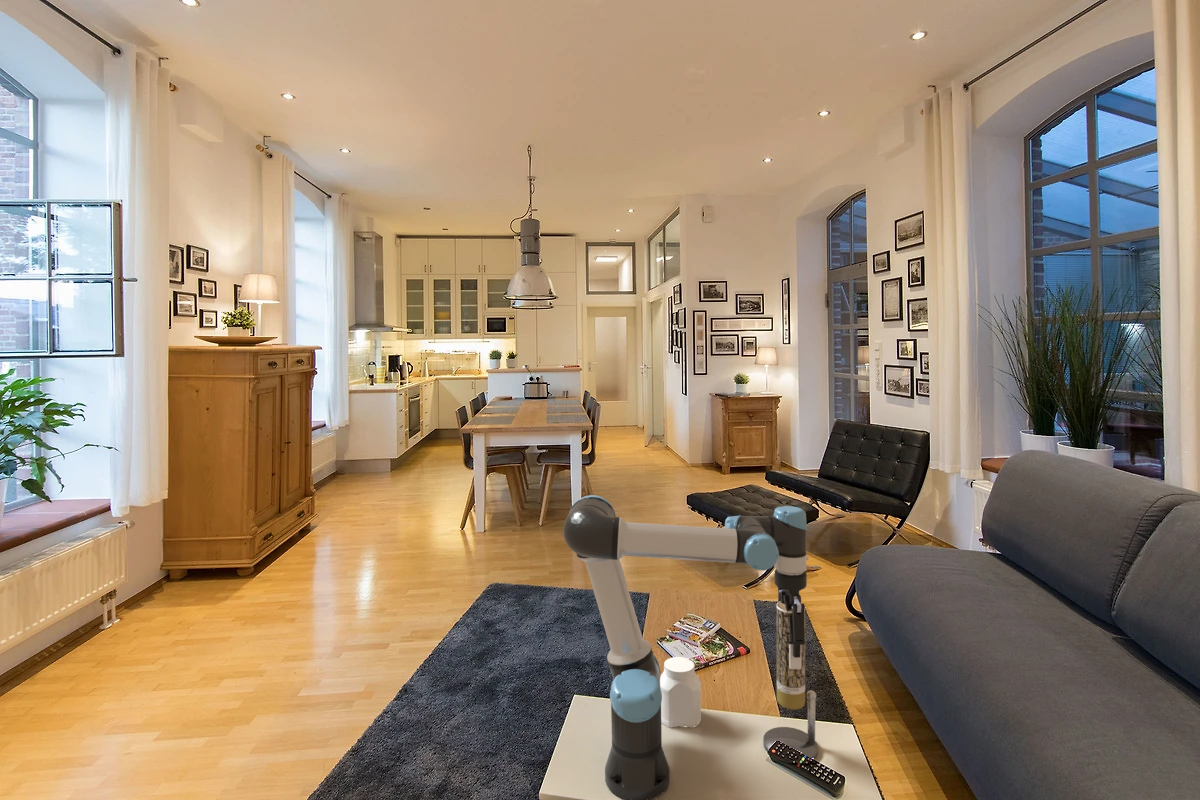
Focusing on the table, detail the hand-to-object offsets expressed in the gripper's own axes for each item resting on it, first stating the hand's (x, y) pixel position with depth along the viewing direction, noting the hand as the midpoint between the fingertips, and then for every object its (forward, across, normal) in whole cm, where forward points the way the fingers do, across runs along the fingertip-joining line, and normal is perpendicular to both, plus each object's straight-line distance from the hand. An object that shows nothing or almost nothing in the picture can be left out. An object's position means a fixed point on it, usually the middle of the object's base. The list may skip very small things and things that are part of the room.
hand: (790, 660), depth 151 cm
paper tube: (+11, 0, 0) cm, 11 cm away
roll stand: (+22, 0, 0) cm, 22 cm away
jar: (+23, +14, +26) cm, 37 cm away
